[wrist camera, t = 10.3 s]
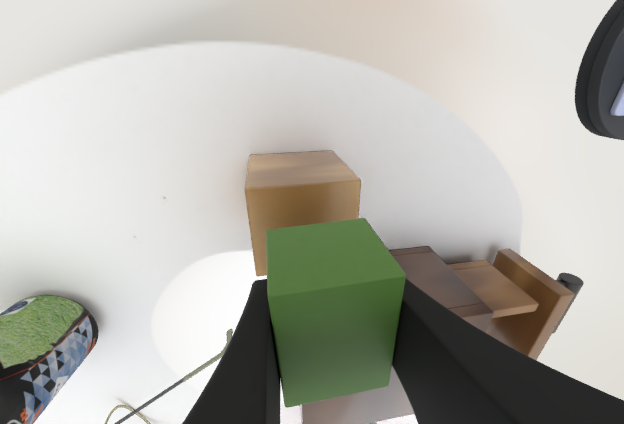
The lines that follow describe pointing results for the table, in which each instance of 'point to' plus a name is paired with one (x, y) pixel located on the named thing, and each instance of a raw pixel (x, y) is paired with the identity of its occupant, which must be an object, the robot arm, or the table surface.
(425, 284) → the cabinet
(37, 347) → the beverage can
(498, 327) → the drawer
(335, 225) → the matte green cuboid
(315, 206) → the wooden block
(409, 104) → the table surface
